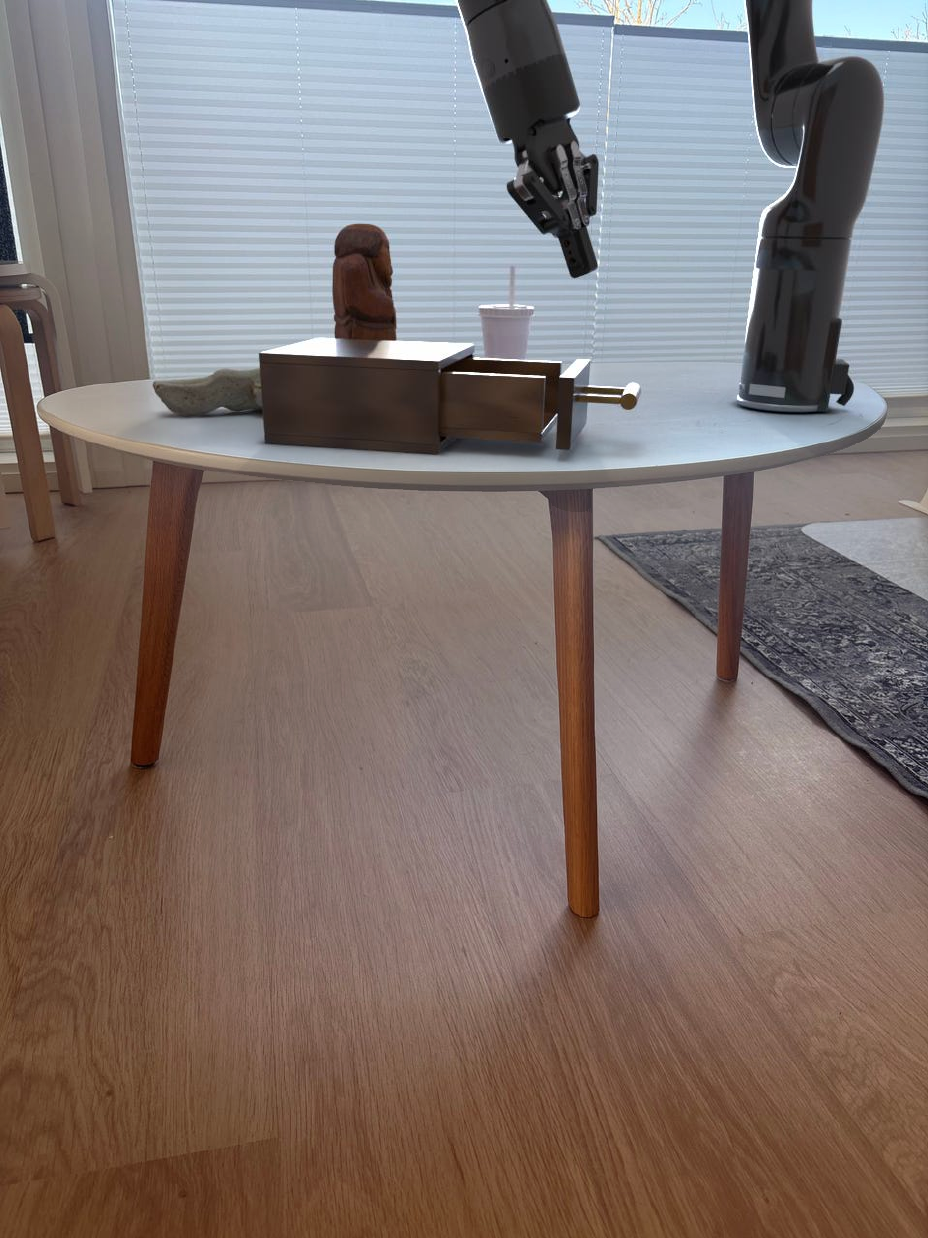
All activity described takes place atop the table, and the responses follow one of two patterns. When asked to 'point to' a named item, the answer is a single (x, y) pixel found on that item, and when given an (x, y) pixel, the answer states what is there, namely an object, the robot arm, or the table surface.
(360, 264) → the wooden figurine
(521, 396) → the drawer
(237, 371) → the sculpture
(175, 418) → the table surface
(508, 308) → the smoothie
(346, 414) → the cabinet
